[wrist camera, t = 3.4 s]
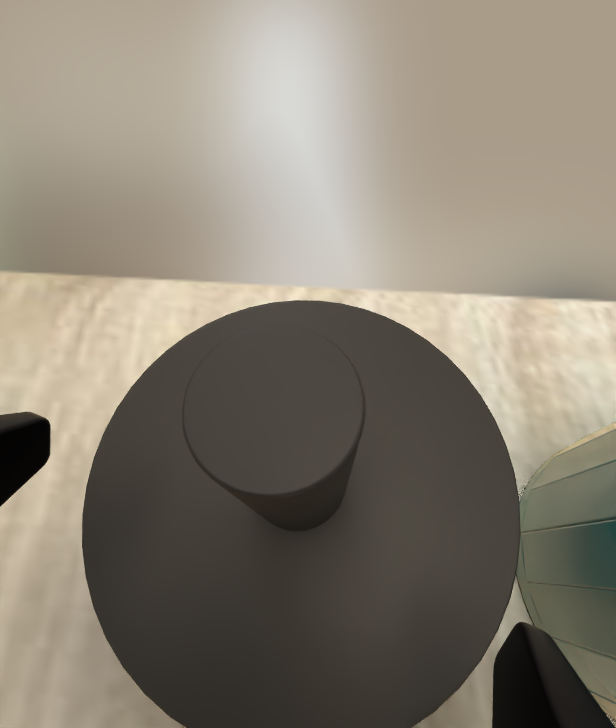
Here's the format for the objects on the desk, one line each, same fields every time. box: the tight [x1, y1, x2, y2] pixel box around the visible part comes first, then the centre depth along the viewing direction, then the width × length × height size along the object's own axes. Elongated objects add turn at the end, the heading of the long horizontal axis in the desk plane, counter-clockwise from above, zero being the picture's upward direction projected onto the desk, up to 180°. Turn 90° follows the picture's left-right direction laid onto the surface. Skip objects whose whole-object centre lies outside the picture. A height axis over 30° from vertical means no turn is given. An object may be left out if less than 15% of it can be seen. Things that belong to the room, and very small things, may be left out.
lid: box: [82, 300, 521, 728], centre depth 9 cm, size 12×12×6 cm
